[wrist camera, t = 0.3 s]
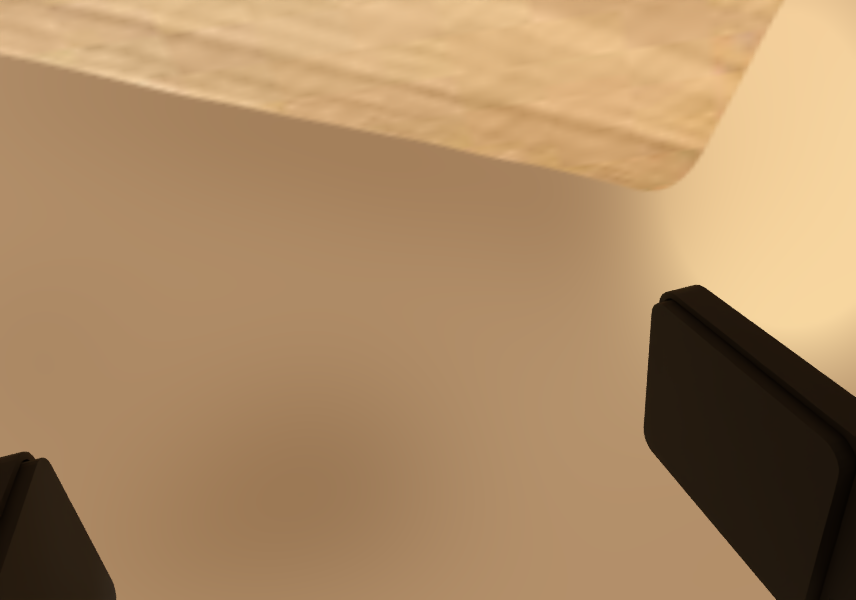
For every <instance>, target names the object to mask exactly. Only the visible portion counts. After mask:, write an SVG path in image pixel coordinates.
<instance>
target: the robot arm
mask: <svg viewBox="0 0 856 600" xmlns="http://www.w3.org/2000/svg"><path fill="white" fill-rule="evenodd" d="M644 435H645V439H646V442H647V444H648V446H649V448H650V449H651V451H652V452H653V453H654V454H655V455H656V457H657V458H658V459H659V460H660V462H661V463H662V464H663V465H664V466H665V467H666V469H667V470H668V471H669V472H670V473H671V475H672V476H673V477H674V478H675V479H676V481H677V482H678V483H679V484H680V485H681V487H682V488H683V489H684V490H685V491H686V493H687V494H688V495H689V496H690V497H691V499H692V500H693V501H694V502H695V503H696V505H697V506H698V507H699V508H700V509H701V510H702V512H703V513H704V514H705V515H706V516H707V518H708V519H709V520H710V521H711V522H712V524H713V525H714V526H715V527H716V528H717V529H718V531H719V532H720V533H721V534H722V535H723V537H724V538H725V539H726V540H727V541H728V543H729V544H730V545H731V546H732V547H733V549H734V550H735V551H736V552H737V553H738V555H739V556H740V557H741V558H742V559H743V560H744V561H745V563H746V564H747V565H748V566H749V568H750V569H751V570H752V571H753V572H754V573H755V575H756V576H757V577H758V578H759V580H760V581H761V582H762V583H763V584H764V585H765V587H766V588H767V589H768V590H769V591H770V593H771V594H772V595H773V596H774V597H775V599H776V600H856V397H855V396H853V395H852V394H850V393H849V392H848V391H846V390H845V389H844V388H842V387H841V386H839V385H838V384H837V383H835V382H834V381H833V380H831V379H830V378H828V377H827V376H826V375H824V374H823V373H821V372H820V371H819V370H817V369H816V368H815V367H813V366H812V365H811V364H809V363H808V362H806V361H805V360H804V359H802V358H801V357H800V356H798V355H797V354H795V353H794V352H793V351H791V350H790V349H789V348H787V347H786V346H784V345H783V344H782V343H780V342H779V341H778V340H776V339H775V338H773V337H772V336H771V335H769V334H768V333H767V332H765V331H764V330H762V329H761V328H760V327H758V326H757V325H756V324H754V323H753V322H751V321H750V320H748V319H747V318H746V317H744V316H743V315H742V314H740V313H739V312H738V311H736V310H735V309H733V308H732V307H731V306H729V305H728V304H727V303H725V302H724V301H723V300H721V299H720V298H718V297H717V296H716V295H714V294H713V293H712V292H710V291H709V290H707V289H706V288H704V287H702V286H700V285H693V286H689V287H685V288H681V289H677V290H672V291H669V292H665V293H664V294H662V296H661V298H660V301H659V303H657V304H656V305H654V307H653V309H652V315H651V330H650V344H649V358H648V373H647V388H646V402H645V417H644ZM0 600H116V593H115V588H114V584H113V582H112V580H111V578H110V576H109V574H108V572H107V570H106V568H105V566H104V564H103V562H102V561H101V559H100V557H99V555H98V553H97V551H96V549H95V547H94V545H93V543H92V541H91V540H90V538H89V536H88V534H87V532H86V530H85V528H84V526H83V524H82V522H81V521H80V519H79V517H78V515H77V513H76V511H75V509H74V507H73V505H72V503H71V502H70V500H69V498H68V496H67V494H66V492H65V490H64V488H63V486H62V484H61V483H60V481H59V479H58V477H57V475H56V473H55V471H54V469H53V467H52V466H51V464H50V462H49V461H48V460H47V459H46V458H39V459H35V458H34V457H33V456H32V455H31V454H30V453H29V452H20V453H16V454H12V455H8V456H4V457H0Z"/></svg>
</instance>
